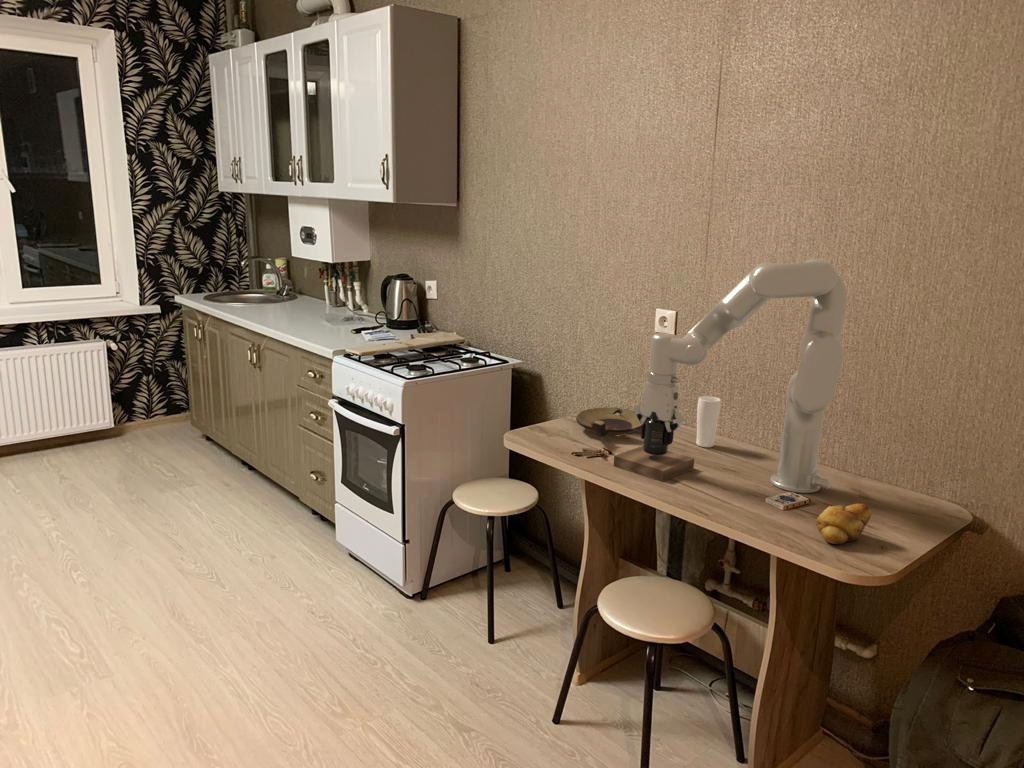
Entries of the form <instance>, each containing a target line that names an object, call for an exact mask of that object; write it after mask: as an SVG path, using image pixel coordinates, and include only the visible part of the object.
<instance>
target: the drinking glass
mask: <svg viewBox="0 0 1024 768" xmlns="http://www.w3.org/2000/svg"><path fill="white" fill-rule="evenodd" d="M697 399H698V400H697V408H696V409H697V410H696V411H697V412H696V445H697V446H698V447H702V448H712V447H714V445H715V440H716V439H715V438H716V434H717V433H716V432H717V428H718V423H719V418H720V413H721V402H722V400H721V398H719V397H717V396H712V395H711V396H710V395H703V396H699V397H698V398H697Z"/></svg>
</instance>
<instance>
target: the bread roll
mask: <svg viewBox="0 0 1024 768" xmlns="http://www.w3.org/2000/svg"><path fill="white" fill-rule="evenodd" d="M871 517H872V511H871V509H870V507H869V506H868V505H867V504H865V503H853V504H850V505H847V506H845V507H844V506H843V505H832V506H831V505H829V506H828V507H826V508H825V509H824V510H823V511H822V513H820V514H819V516H818V517H817V518H816V527H817V530H818V532H819V533H820V535H821V537H822V539H823V540H824V541H825V542H827V543H829V544H833V545H843V544H845V543H846V542H847V541H848V542H853V541H856V540H858V539H859V538H860V537H861V536H862V533H863V531H864V530H865V527H866V526H867V525H868V523H869V521H870V519H871Z"/></svg>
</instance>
